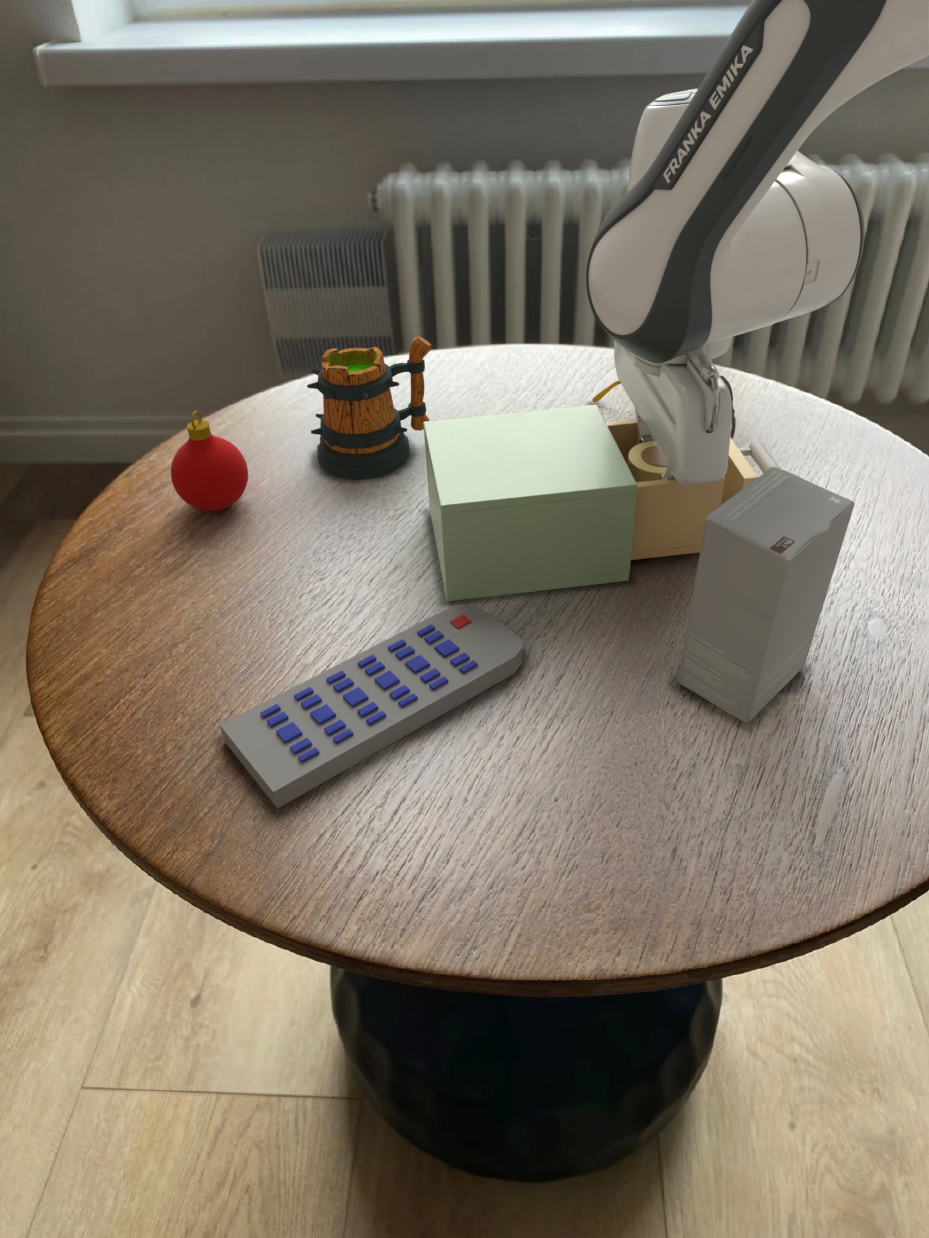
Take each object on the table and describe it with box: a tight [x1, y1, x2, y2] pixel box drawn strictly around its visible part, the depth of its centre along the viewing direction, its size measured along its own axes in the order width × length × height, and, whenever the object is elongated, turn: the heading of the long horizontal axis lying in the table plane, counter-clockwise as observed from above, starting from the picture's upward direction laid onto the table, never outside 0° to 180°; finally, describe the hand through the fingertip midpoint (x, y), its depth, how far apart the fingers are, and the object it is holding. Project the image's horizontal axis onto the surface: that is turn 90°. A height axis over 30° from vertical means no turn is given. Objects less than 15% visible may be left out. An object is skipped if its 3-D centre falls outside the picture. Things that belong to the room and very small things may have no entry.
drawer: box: [605, 418, 782, 561], centre depth 84 cm, size 19×12×8 cm, turn 98°
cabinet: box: [423, 404, 637, 602], centre depth 83 cm, size 16×14×10 cm
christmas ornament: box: [170, 410, 249, 512], centre depth 90 cm, size 7×7×10 cm
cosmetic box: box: [676, 467, 855, 724], centre depth 67 cm, size 8×7×16 cm
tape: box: [627, 441, 667, 482], centre depth 84 cm, size 6×6×4 cm
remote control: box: [219, 603, 524, 809], centre depth 71 cm, size 8×23×2 cm, turn 127°
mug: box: [306, 336, 432, 480], centre depth 96 cm, size 13×10×12 cm
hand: (659, 473), depth 84 cm, fingers closed on tape, 5 cm apart
